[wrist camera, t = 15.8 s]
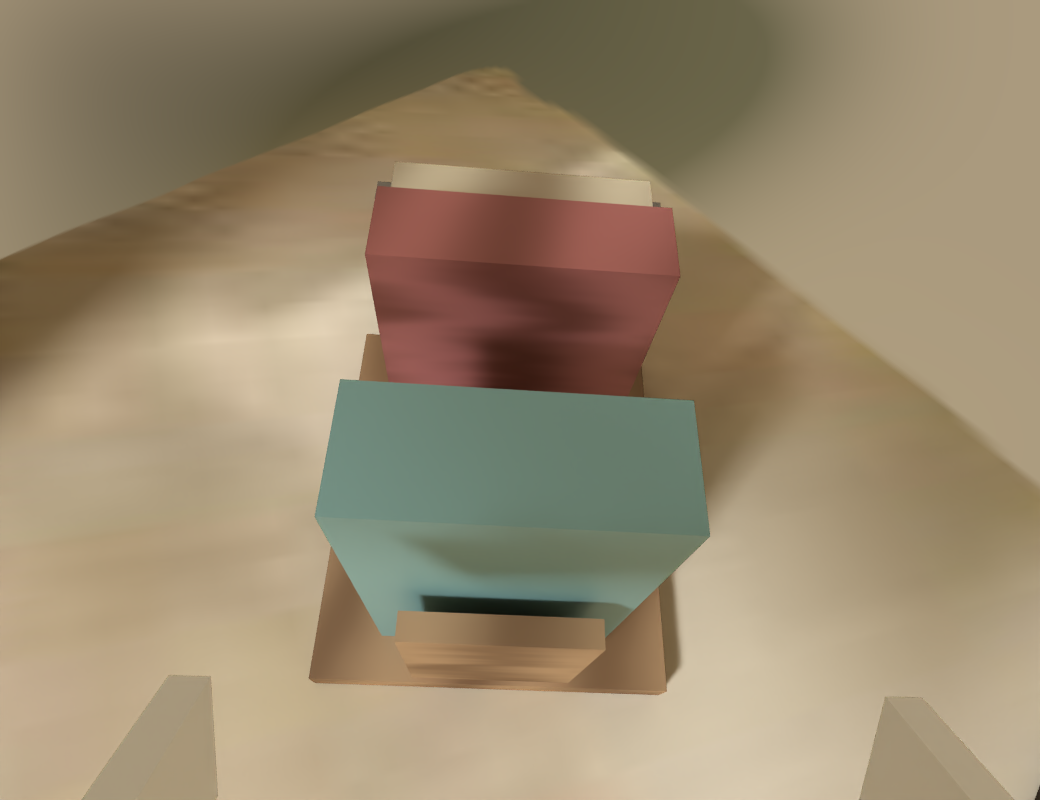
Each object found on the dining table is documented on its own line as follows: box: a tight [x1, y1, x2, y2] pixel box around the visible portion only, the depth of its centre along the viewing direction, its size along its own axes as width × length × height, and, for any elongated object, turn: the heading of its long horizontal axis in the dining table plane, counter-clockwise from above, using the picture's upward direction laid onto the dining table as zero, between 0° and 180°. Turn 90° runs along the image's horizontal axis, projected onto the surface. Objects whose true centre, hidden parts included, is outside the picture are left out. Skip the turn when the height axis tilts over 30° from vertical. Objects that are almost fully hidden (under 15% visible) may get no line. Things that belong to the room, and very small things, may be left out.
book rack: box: [309, 162, 680, 695], centre depth 28 cm, size 16×18×18 cm
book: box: [315, 379, 710, 638], centre depth 25 cm, size 10×4×16 cm, turn 88°
